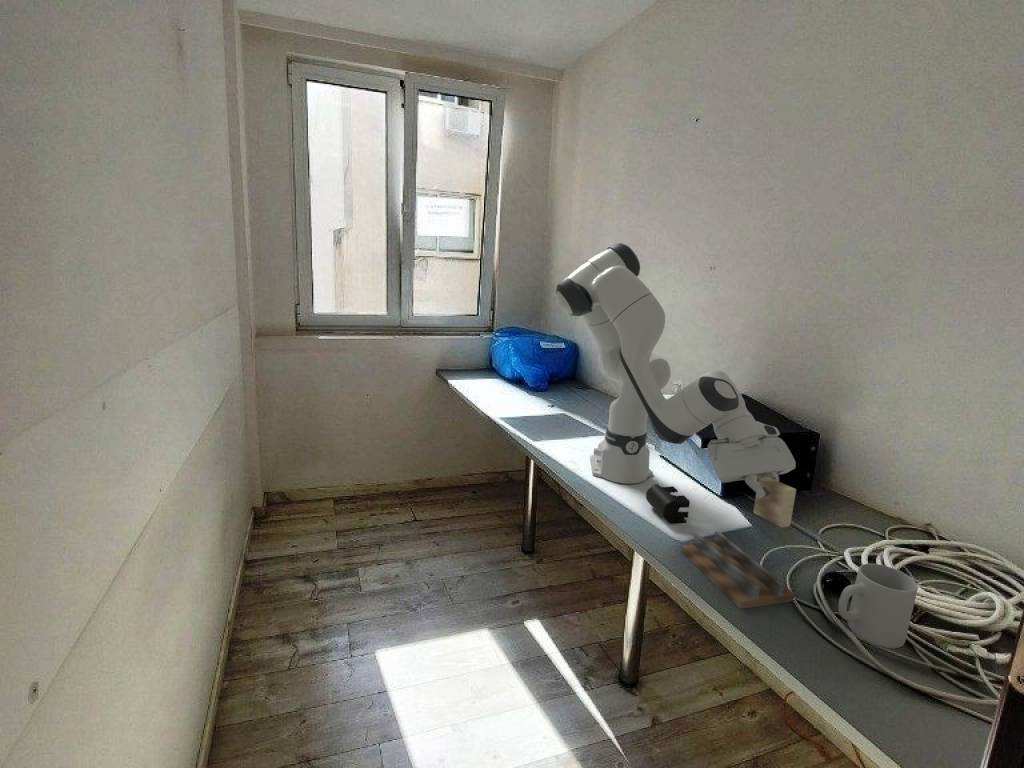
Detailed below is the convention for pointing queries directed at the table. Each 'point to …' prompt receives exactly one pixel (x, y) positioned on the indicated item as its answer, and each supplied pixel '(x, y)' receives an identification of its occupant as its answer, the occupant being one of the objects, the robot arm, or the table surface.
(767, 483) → the beige rectangular block
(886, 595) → the mug
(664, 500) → the black notched cylinder
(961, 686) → the table surface
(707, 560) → the track board
